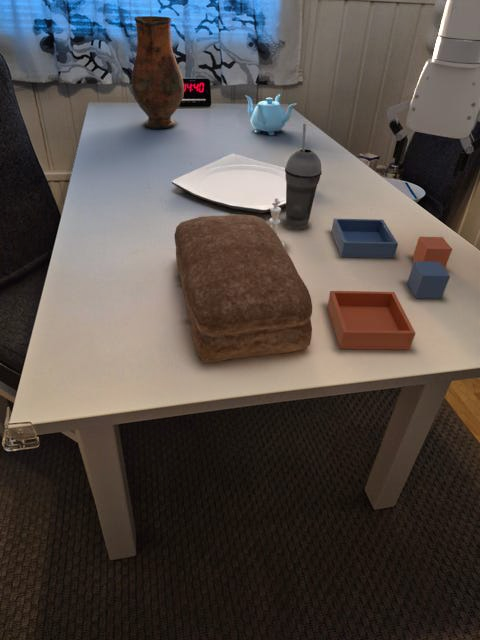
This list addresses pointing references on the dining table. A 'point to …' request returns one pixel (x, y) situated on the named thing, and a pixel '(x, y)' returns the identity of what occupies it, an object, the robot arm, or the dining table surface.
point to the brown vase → (156, 72)
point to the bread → (240, 288)
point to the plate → (237, 183)
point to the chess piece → (275, 216)
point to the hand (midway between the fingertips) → (426, 169)
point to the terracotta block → (432, 250)
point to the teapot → (268, 115)
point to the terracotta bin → (369, 320)
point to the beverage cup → (301, 185)
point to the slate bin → (363, 238)
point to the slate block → (428, 280)
